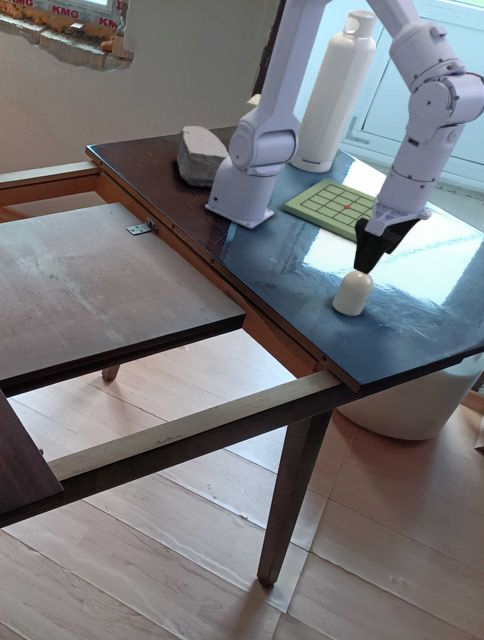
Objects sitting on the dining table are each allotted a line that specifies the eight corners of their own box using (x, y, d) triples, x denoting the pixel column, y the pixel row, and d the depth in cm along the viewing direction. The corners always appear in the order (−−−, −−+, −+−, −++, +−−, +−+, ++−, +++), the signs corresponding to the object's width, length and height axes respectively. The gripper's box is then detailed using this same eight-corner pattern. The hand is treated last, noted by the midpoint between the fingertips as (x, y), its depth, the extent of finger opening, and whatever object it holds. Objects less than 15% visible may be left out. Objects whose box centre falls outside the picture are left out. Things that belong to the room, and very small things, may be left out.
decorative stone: (196, 197, 124) (241, 187, 127) (203, 162, 120) (250, 152, 123) (153, 162, 135) (196, 154, 138) (158, 128, 130) (202, 121, 133)
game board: (282, 209, 122) (284, 203, 121) (323, 183, 131) (325, 176, 130) (368, 247, 114) (371, 240, 113) (406, 216, 123) (409, 210, 122)
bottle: (339, 169, 136) (398, 19, 118) (307, 174, 134) (363, 22, 115) (311, 152, 142) (364, 5, 123) (280, 156, 139) (329, 8, 121)
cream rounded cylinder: (327, 305, 101) (342, 271, 97) (339, 294, 103) (355, 261, 99) (354, 319, 99) (371, 285, 95) (366, 307, 101) (383, 273, 97)
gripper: (425, 201, 81) (379, 293, 90) (466, 166, 89) (420, 254, 98) (368, 179, 85) (329, 270, 94) (412, 147, 93) (373, 234, 102)
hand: (372, 260), depth 96 cm, fingers open, 7 cm apart
